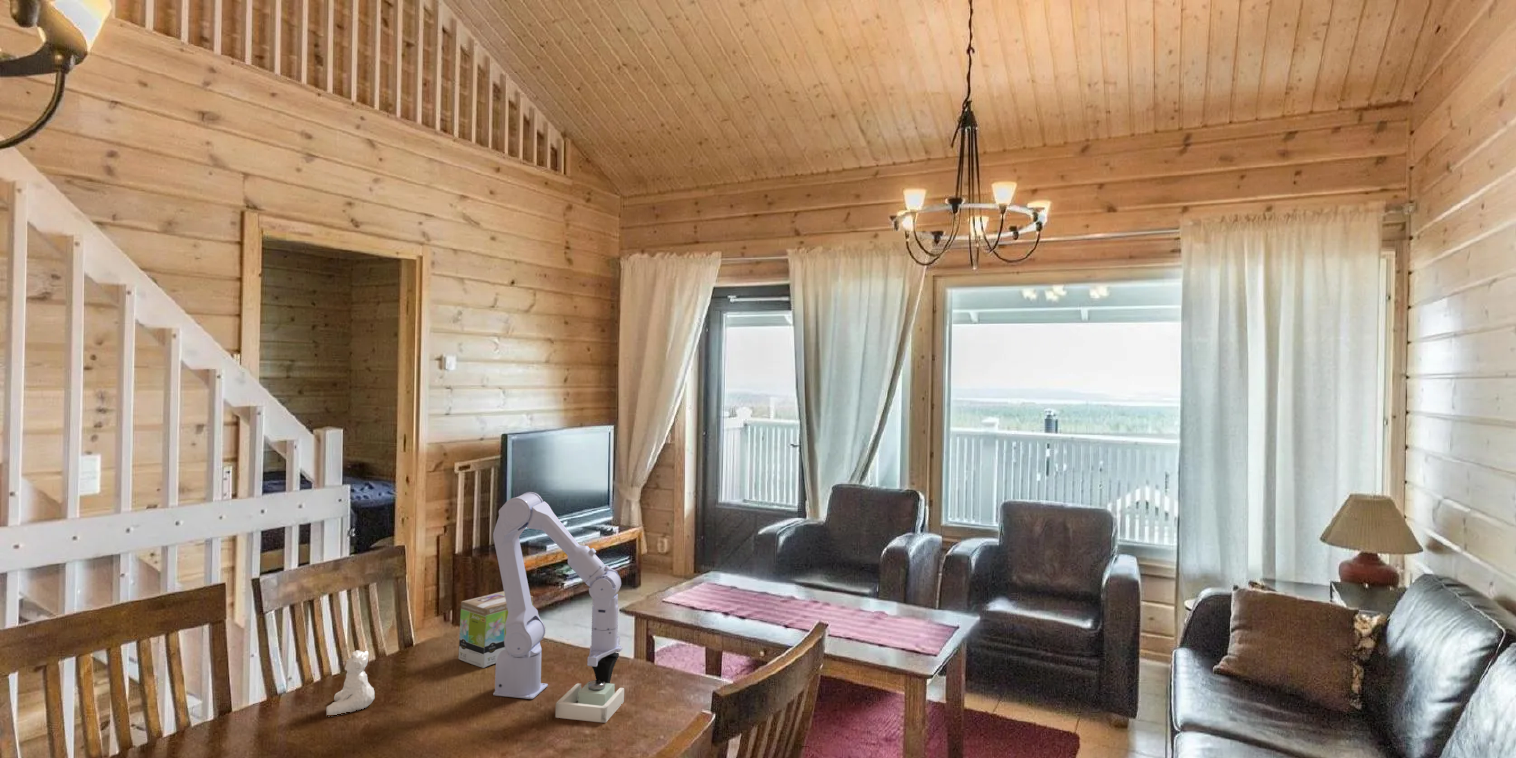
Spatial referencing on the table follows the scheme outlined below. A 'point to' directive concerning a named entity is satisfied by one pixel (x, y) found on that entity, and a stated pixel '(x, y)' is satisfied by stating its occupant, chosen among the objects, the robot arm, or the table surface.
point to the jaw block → (596, 693)
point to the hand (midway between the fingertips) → (603, 687)
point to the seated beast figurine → (353, 687)
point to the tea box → (483, 629)
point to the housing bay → (587, 707)
